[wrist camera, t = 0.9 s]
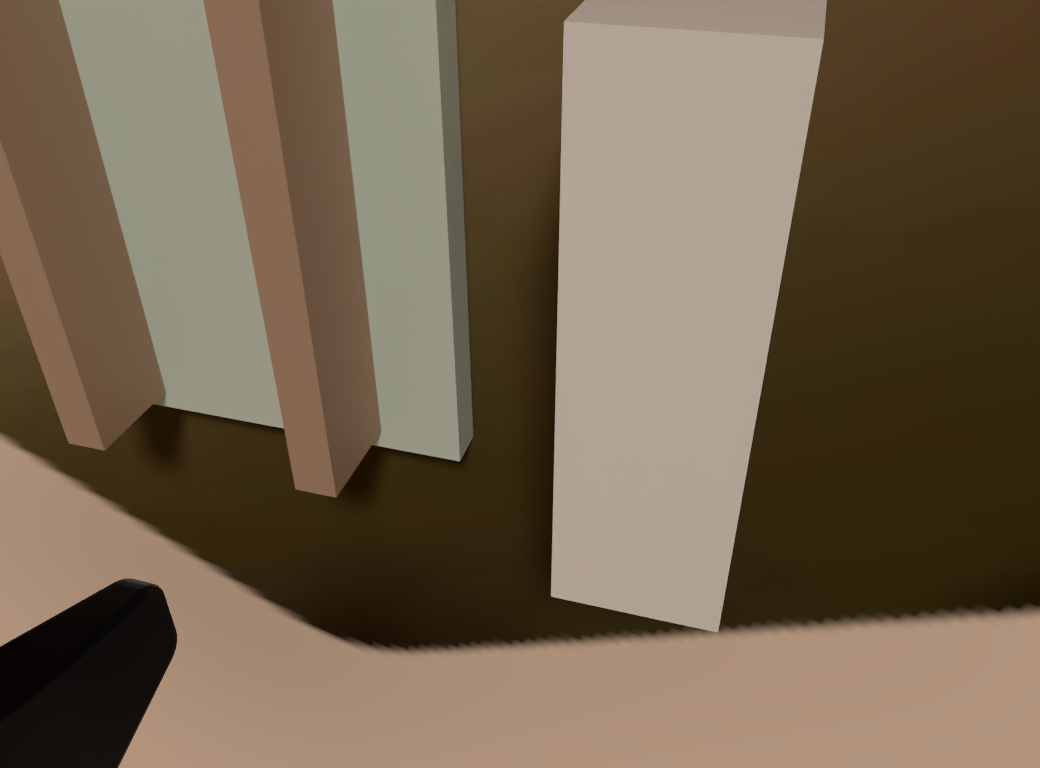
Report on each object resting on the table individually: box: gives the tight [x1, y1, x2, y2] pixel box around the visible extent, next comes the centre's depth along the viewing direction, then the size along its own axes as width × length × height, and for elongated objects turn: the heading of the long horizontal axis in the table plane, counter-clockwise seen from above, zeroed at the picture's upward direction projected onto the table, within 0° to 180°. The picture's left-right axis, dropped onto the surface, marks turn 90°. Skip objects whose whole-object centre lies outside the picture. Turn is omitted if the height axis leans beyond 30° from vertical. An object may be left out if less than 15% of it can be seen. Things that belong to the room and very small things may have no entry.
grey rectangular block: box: [551, 0, 827, 632], centre depth 16 cm, size 3×10×6 cm, turn 179°
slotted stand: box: [0, 0, 473, 497], centre depth 19 cm, size 11×13×4 cm
